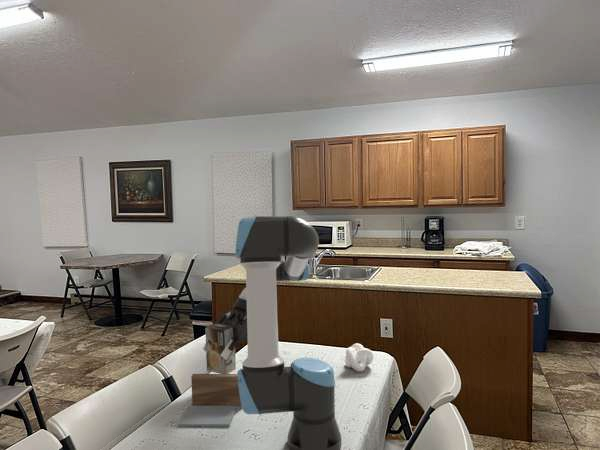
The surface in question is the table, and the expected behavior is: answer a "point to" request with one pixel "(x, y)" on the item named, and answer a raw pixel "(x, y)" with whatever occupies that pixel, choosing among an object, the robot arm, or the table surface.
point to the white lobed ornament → (358, 357)
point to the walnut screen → (215, 389)
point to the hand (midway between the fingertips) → (214, 354)
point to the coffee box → (219, 348)
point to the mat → (207, 416)
